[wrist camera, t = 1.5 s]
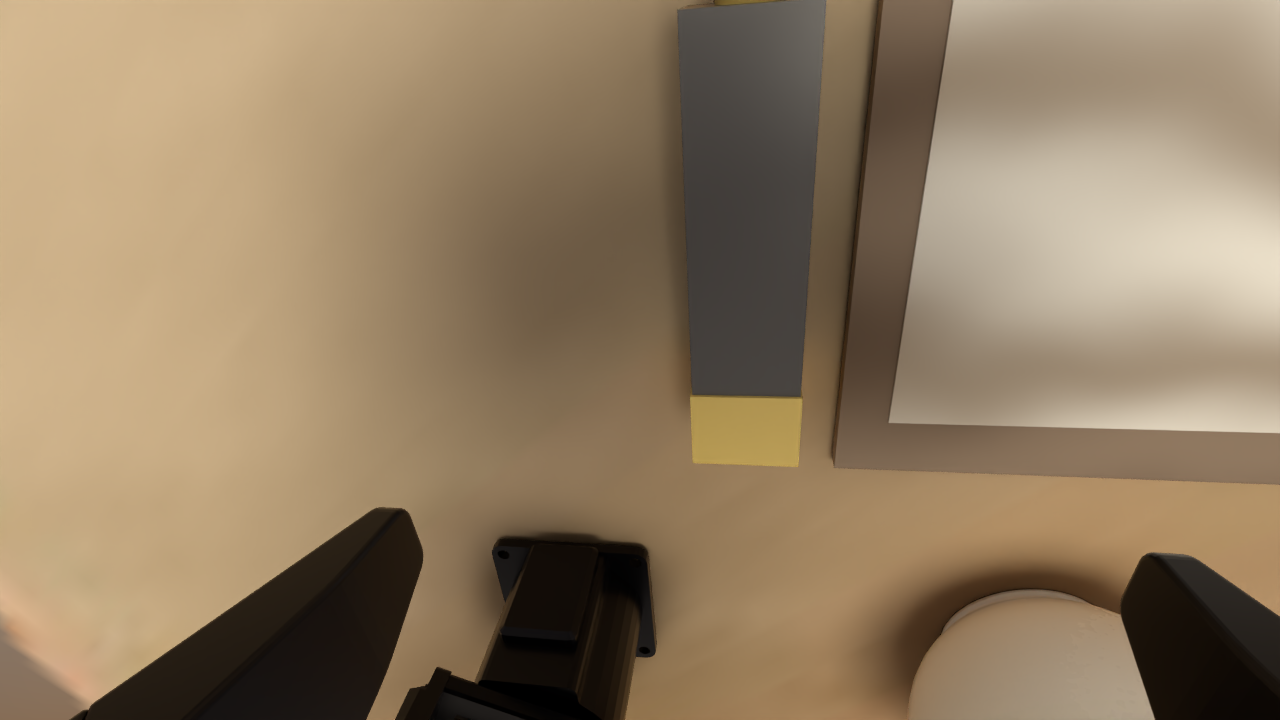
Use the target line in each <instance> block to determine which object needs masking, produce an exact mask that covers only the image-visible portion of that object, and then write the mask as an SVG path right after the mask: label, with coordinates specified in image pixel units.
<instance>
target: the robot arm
mask: <svg viewBox="0 0 1280 720" xmlns="http://www.w3.org/2000/svg"><path fill="white" fill-rule="evenodd" d="M492 555H493V559H494V563H495V567H496V570H497V574H498V578H499V582H500V585H501V589H502V593H503V597H504V600H505V605H504V608H503V610H502V613H501V616H500V618H499V621H498V623H497V626H496V628H495V631H494V633H493V636H492V639H491V641H490V644H489V646H488V649H487V651H486V654H485V656H484V659H483V662H482V664H481V667H480V669H479V672H478V674H477V677H476V679H475V682H471V681H468V680H465V679H463V678H460V677H457V676H454V675H451V671H448V670H445V669H442V668H439V667H437V668H436V670H435V672H434V674H433V676H432V678H431V680H430V682H429V684H426V685H425V686H421V687H417V688H411V689H410V690H409V692H408V694H407V696H406V698H405V700H404V702H403V704H402V706H401V708H400V710H399V713H398V715H397V717H396V719H395V720H625V717H626V711H627V705H628V699H629V693H630V686H631V680H632V675H633V668H634V662H635V657H652V656H653V655H654V654H655V652H656V645H657V641H656V630H655V619H654V608H653V597H652V586H651V576H650V565H649V556H648V553H647V552H646V551H645V550H644V549H642V548H640V547H634V546H617V545H600V544H584V543H567V542H550V541H534V540H517V539H500V540H498V541H497V542H496V543H495V545H494V548H493V550H492ZM635 559H638V560H635ZM422 564H423V549H422V546H421V543H420V540H419V538H418V535H417V532H416V530H415V527H414V524H413V522H412V519H411V517H410V515H409V513H408V512H407V511H406V510H405V509H402V508H386V507H379V508H375V509H373V510H371V511H370V512H368V513H367V514H365V515H364V516H363V517H361V518H360V519H358V520H357V521H355V522H354V523H352V524H351V525H350V526H348V527H347V528H345V529H344V530H342V531H341V532H339V533H338V534H337V535H335V536H334V537H332V538H331V539H329V540H328V541H326V542H325V543H324V544H322V545H321V546H319V547H318V548H316V549H315V550H314V551H312V552H311V553H309V554H308V555H306V556H305V557H303V558H302V559H301V560H299V561H298V562H296V563H295V564H293V565H292V566H290V567H289V568H288V569H286V570H285V571H283V572H282V573H280V574H279V575H277V576H276V577H275V578H273V579H272V580H270V581H269V582H267V583H266V584H265V585H263V586H262V587H260V588H259V589H257V590H256V591H254V592H253V593H252V594H250V595H249V596H247V597H246V598H244V599H243V600H241V601H240V602H239V603H237V604H236V605H234V606H233V607H231V608H230V609H228V610H227V611H226V612H224V613H223V614H221V615H220V616H218V617H217V618H216V619H214V620H213V621H211V622H210V623H208V624H207V625H205V626H204V627H203V628H201V629H200V630H198V631H197V632H195V633H194V634H192V635H191V636H190V637H188V638H187V639H185V640H184V641H182V642H181V643H179V644H178V645H177V646H175V647H174V648H172V649H171V650H169V651H168V652H166V653H165V654H164V655H162V656H161V657H159V658H158V659H156V660H155V661H154V662H152V663H151V664H149V665H148V666H146V667H145V668H143V669H142V670H141V671H139V672H138V673H136V674H135V675H133V676H132V677H130V678H129V679H128V680H126V681H125V682H123V683H122V684H120V685H119V686H117V687H116V688H115V689H113V690H112V691H110V692H109V693H107V694H106V695H104V696H103V697H102V698H100V699H99V700H97V701H96V702H94V703H93V704H92V705H91V706H90V708H89V710H83V711H81V712H80V713H78V714H77V715H75V716H74V717H72V718H71V719H70V720H366V719H367V717H368V714H369V712H370V710H371V708H372V705H373V703H374V701H375V699H376V696H377V694H378V692H379V689H380V687H381V685H382V682H383V680H384V677H385V675H386V672H387V670H388V667H389V664H390V661H391V659H392V656H393V653H394V650H395V647H396V644H397V641H398V638H399V635H400V632H401V629H402V626H403V623H404V620H405V617H406V614H407V611H408V607H409V604H410V601H411V598H412V595H413V592H414V589H415V586H416V583H417V580H418V577H419V574H420V571H421V568H422ZM1120 612H1121V618H1122V622H1123V625H1124V628H1125V631H1126V634H1127V637H1128V640H1129V643H1130V646H1131V649H1132V652H1133V655H1134V658H1135V661H1136V664H1137V667H1138V670H1139V673H1140V676H1141V679H1142V682H1143V685H1144V688H1145V691H1146V694H1147V697H1148V701H1149V704H1150V707H1151V710H1152V713H1153V716H1154V719H1155V720H1280V616H1278V615H1277V614H1275V613H1274V612H1272V611H1271V610H1270V609H1268V608H1267V607H1265V606H1264V605H1262V604H1261V603H1260V602H1258V601H1257V600H1255V599H1254V598H1252V597H1251V596H1249V595H1248V594H1247V593H1245V592H1244V591H1242V590H1241V589H1239V588H1238V587H1237V586H1235V585H1234V584H1232V583H1231V582H1229V581H1228V580H1226V579H1225V578H1224V577H1222V576H1221V575H1219V574H1218V573H1216V572H1215V571H1214V570H1212V569H1211V568H1209V567H1208V566H1206V565H1205V564H1203V563H1202V562H1201V561H1199V560H1197V559H1196V558H1194V557H1191V556H1188V555H1184V554H1171V553H1154V552H1153V553H1148V554H1146V555H1144V556H1143V557H1142V558H1141V559H1140V561H1139V563H1138V565H1137V567H1136V569H1135V571H1134V573H1133V575H1132V577H1131V579H1130V581H1129V583H1128V585H1127V587H1126V589H1125V592H1124V594H1123V596H1122V599H1121V604H1120Z"/></svg>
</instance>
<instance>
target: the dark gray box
mask: <svg viewBox="0 0 1280 720" xmlns="http://www.w3.org/2000/svg"><path fill="white" fill-rule="evenodd" d="M677 13H678V39H679V66H680V92H681V118H682V144H683V170H684V197H685V223H686V249H687V275H688V301H689V327H690V354H691V380H692V386H691V394H690V408H691V433H692V458H693V463H704V464H732V465H759V466H787V467H798V463H799V448H800V433H801V418H802V403H803V397H802V390H801V383H802V368H803V353H804V337H805V322H806V306H807V291H808V275H809V260H810V245H811V229H812V214H813V198H814V183H815V167H816V152H817V137H818V121H819V106H820V90H821V75H822V59H823V44H824V29H825V13H826V0H714V3H713V4H701V5H689V6H686V7H683V8H681V9H678V10H677Z"/></svg>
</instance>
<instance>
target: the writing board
mask: <svg viewBox="0 0 1280 720" xmlns="http://www.w3.org/2000/svg"><path fill="white" fill-rule="evenodd" d="M832 458H833V464H834V468H849V469H876V470H902V471H929V472H955V473H982V474H1009V475H1035V476H1062V477H1089V478H1115V479H1142V480H1169V481H1195V482H1222V483H1249V484H1275V485H1280V0H879V3H878V13H877V23H876V33H875V42H874V52H873V62H872V72H871V82H870V91H869V101H868V111H867V121H866V131H865V140H864V150H863V160H862V170H861V180H860V189H859V199H858V209H857V219H856V228H855V238H854V248H853V258H852V268H851V277H850V287H849V297H848V307H847V317H846V326H845V336H844V346H843V356H842V366H841V375H840V385H839V395H838V405H837V414H836V424H835V434H834V444H833V454H832Z"/></svg>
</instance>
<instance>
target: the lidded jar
mask: <svg viewBox="0 0 1280 720" xmlns="http://www.w3.org/2000/svg"><path fill="white" fill-rule="evenodd" d="M908 720H1155V719H1154V716H1153V713H1152V710H1151V707H1150V704H1149V701H1148V697H1147V694H1146V691H1145V688H1144V685H1143V682H1142V679H1141V676H1140V673H1139V670H1138V667H1137V664H1136V661H1135V658H1134V655H1133V652H1132V649H1131V646H1130V643H1129V640H1128V637H1127V634H1126V631H1125V628H1124V625H1123V622H1122V618H1121V615H1120V614H1117V613H1115V612H1112V611H1109V610H1107V609H1104V608H1101V607H1098V606H1094V605H1092V604H1090V603H1088V602H1086V601H1085V600H1083V599H1081V598H1078V597H1075V596H1073V595H1070V594H1066V593H1062V592H1059V591H1052V590H1044V589H1021V590H1012V591H1005V592H1000V593H997V594H993V595H989V596H986V597H984V598H981V599H978V600H976V601H974V602H972V603H970V604H968V605H966V606H965V607H964V608H962V609H961V610H959V611H958V612H957V613H956V614H954V615H953V616H952V617H951V618H950V619H949V621H948V622H947V623H946V625H945V626H944V628H943V631H942V633H941V635H940V636H939V637H938V638H937V640H936V641H935V642H934V643H933V645H932V646H931V647H930V649H929V650H928V651H927V653H926V654H925V655H924V657H923V660H922V662H921V664H920V666H919V668H918V671H917V673H916V675H915V677H914V680H913V685H912V690H911V694H910V699H909V705H908Z"/></svg>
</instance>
